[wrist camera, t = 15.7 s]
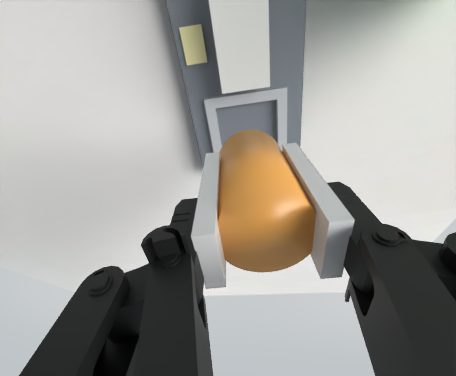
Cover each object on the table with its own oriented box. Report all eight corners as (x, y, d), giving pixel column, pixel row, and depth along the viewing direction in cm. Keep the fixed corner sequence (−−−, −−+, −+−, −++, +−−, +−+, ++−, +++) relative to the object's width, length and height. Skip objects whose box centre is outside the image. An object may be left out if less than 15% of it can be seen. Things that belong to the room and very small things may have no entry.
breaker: (206, -22, 17) (204, -25, 16) (264, -33, 17) (267, -37, 15) (222, 89, 22) (222, 93, 21) (267, 82, 21) (270, 86, 20)
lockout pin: (214, 133, 13) (205, 200, 8) (280, 125, 13) (326, 186, 7) (223, 189, 16) (222, 276, 10) (280, 183, 15) (316, 267, 9)
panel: (136, -156, 16) (118, -195, 13) (305, -195, 15) (322, -246, 13) (205, 164, 30) (203, 176, 27) (295, 153, 29) (302, 164, 27)
